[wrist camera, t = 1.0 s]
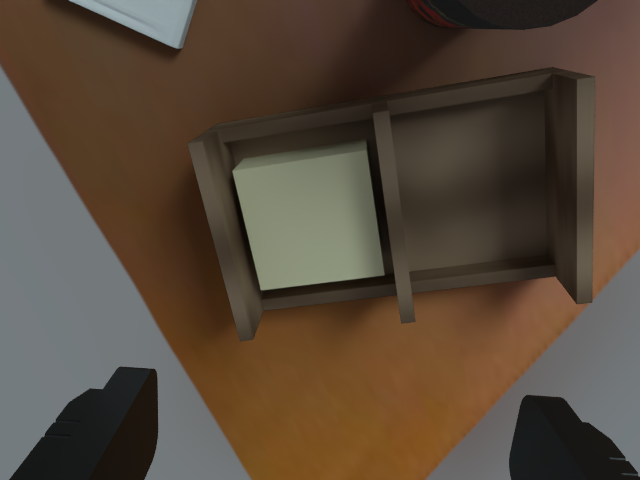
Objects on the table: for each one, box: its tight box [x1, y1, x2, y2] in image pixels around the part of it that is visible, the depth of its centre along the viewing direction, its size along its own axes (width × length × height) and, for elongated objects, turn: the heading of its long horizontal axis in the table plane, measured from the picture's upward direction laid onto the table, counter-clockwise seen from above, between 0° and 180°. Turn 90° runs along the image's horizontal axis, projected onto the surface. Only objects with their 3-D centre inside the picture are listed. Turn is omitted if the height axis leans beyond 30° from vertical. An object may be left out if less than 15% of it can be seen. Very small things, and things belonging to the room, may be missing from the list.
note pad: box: [232, 139, 385, 290], centre depth 32 cm, size 8×8×3 cm
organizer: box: [188, 67, 595, 341], centre depth 31 cm, size 12×20×6 cm, turn 100°
